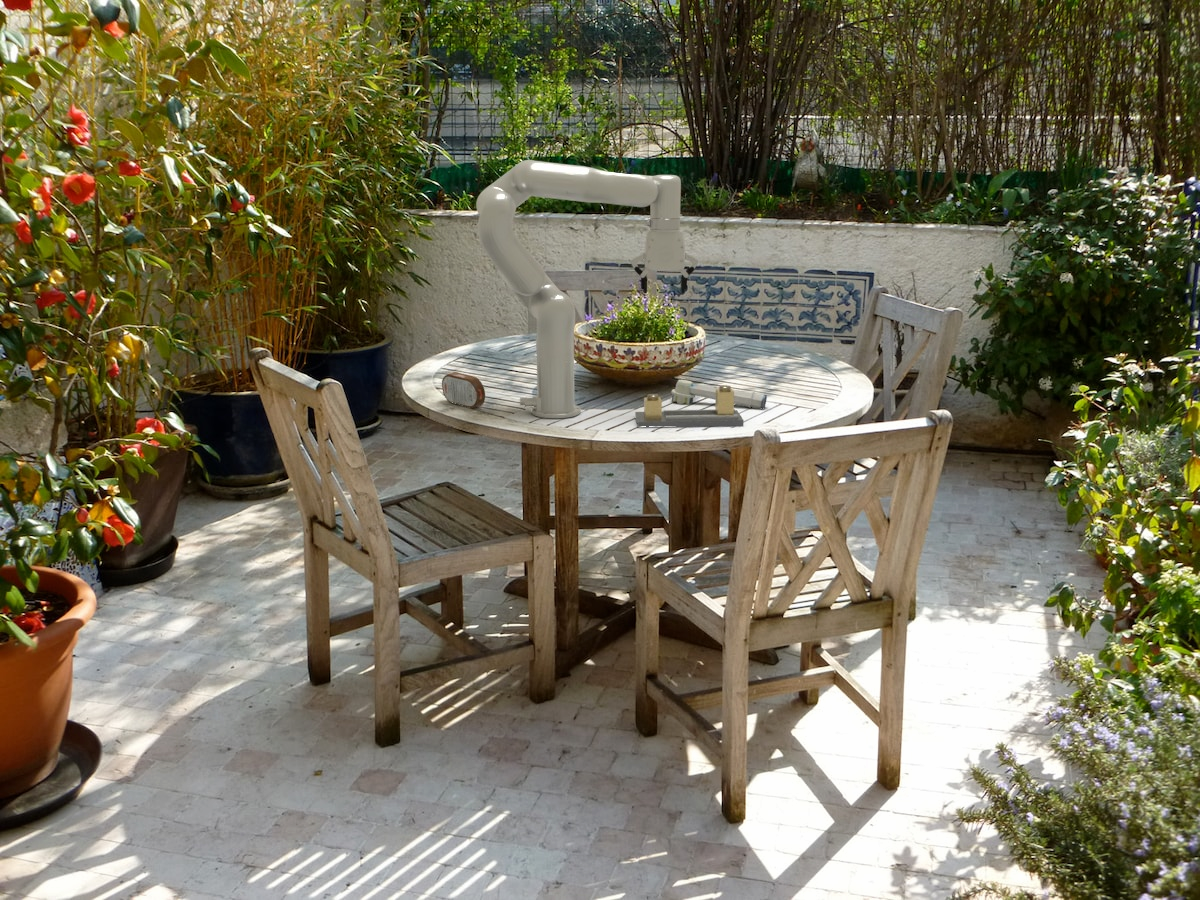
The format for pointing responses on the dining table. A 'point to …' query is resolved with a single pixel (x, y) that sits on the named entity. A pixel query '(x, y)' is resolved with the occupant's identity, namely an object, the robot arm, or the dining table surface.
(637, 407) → the dining table surface
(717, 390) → the block
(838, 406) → the dining table surface
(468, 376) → the tin
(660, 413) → the fixed leg
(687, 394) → the grey flashlight
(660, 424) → the bolt plate
